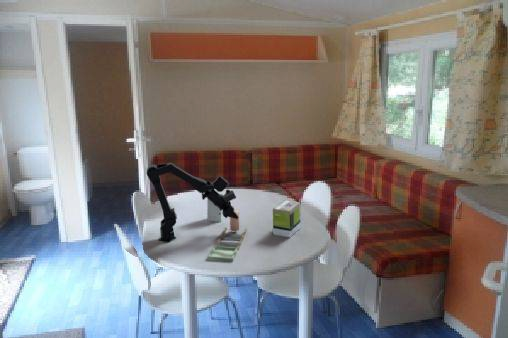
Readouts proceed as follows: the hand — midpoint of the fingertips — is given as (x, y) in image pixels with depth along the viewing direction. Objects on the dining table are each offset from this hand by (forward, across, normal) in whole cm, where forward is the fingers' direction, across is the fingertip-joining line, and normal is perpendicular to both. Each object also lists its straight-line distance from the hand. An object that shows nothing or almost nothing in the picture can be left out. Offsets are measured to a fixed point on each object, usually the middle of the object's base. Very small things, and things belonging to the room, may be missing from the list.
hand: (237, 216), depth 201 cm
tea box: (+24, -6, -12) cm, 28 cm away
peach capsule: (+4, 0, +6) cm, 7 cm away
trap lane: (+1, -14, +11) cm, 18 cm away
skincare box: (0, +20, +13) cm, 24 cm away
